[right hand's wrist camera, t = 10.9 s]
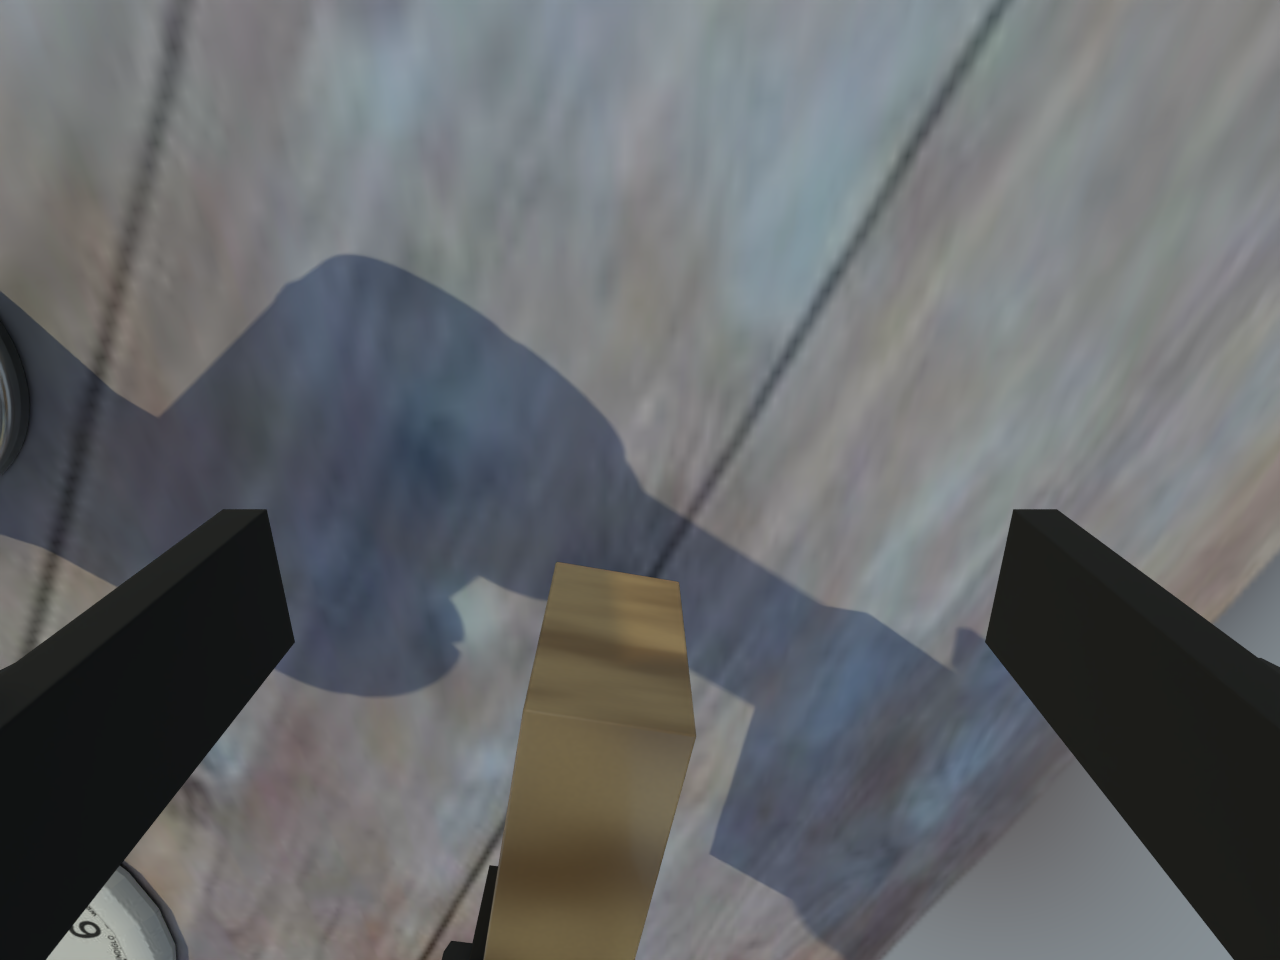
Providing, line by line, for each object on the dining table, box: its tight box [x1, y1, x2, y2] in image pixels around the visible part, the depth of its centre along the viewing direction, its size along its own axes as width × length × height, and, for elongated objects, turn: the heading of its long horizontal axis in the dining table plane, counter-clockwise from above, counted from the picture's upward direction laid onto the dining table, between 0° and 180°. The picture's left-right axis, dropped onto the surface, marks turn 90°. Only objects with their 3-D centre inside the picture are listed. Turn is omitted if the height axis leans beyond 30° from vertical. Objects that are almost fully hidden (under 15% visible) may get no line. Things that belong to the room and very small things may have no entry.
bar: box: [483, 562, 696, 960], centre depth 28 cm, size 22×5×9 cm, turn 169°
